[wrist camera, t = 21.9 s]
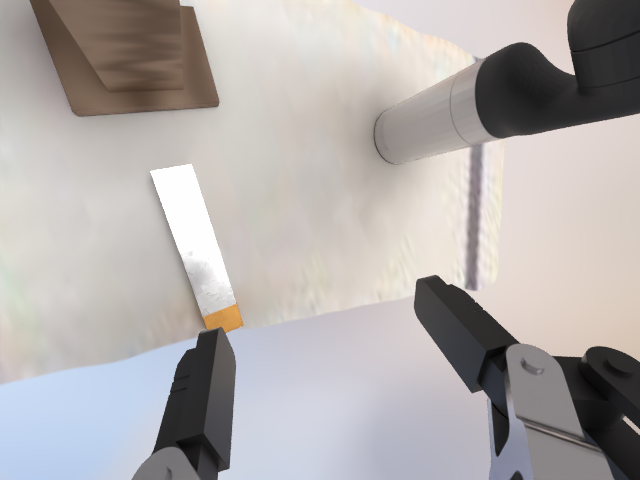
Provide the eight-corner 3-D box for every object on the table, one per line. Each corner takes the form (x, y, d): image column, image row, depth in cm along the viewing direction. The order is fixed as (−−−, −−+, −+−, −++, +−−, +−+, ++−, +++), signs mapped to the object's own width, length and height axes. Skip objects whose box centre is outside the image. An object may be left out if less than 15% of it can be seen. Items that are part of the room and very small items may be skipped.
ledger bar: (191, 169, 32) (191, 164, 29) (238, 315, 36) (243, 325, 33) (154, 175, 30) (150, 171, 27) (208, 328, 34) (210, 339, 31)
